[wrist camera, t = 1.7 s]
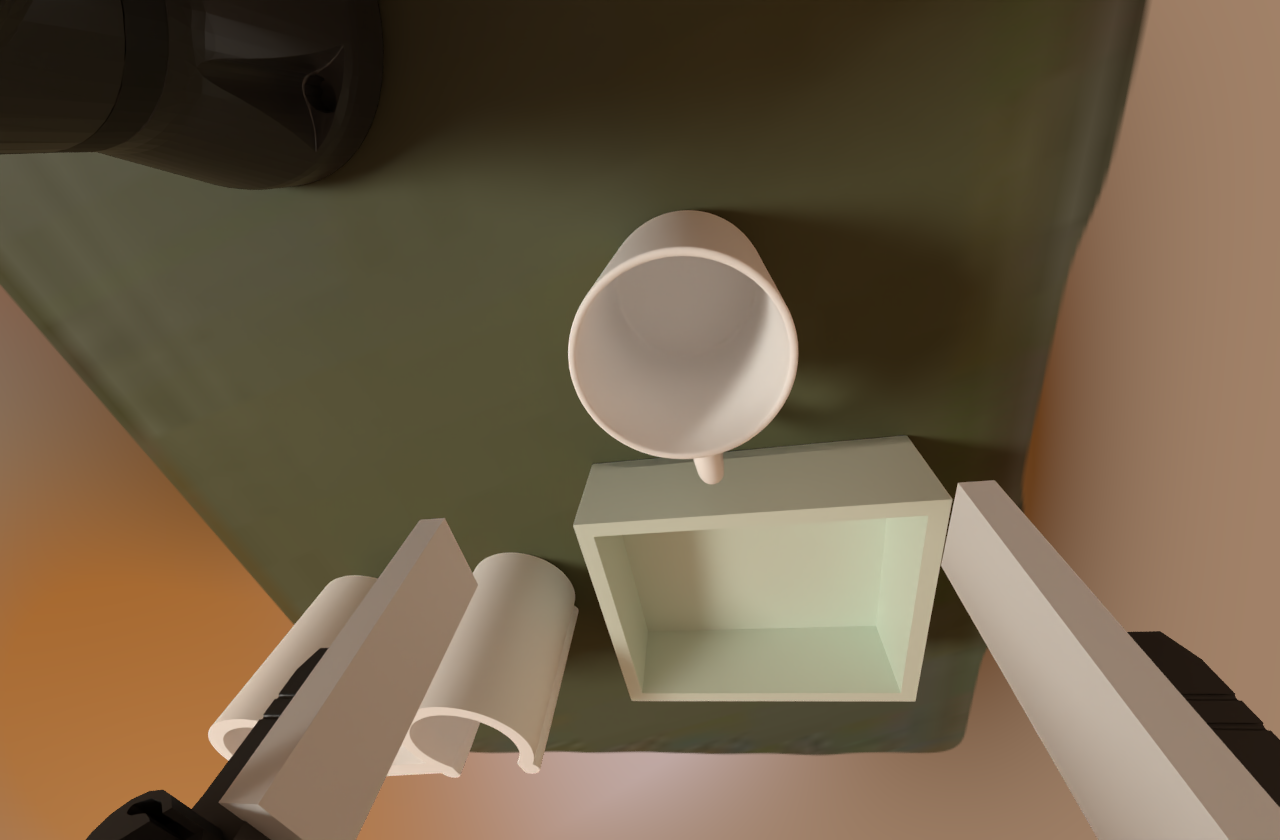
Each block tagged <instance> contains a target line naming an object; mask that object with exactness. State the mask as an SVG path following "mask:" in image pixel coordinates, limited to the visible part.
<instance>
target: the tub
mask: <svg viewBox="0 0 1280 840" xmlns="http://www.w3.org/2000/svg"><path fill="white" fill-rule="evenodd" d="M723 460H724V476H723V478H722V480H721V481H720V482H719V483H716V484H707V483H705V482H704V481H703V480H702V479H701V478H700V476H699V474H698V472H697V469H696V466H695V463H694V460H693V459H670V458H653V459H642V460H631V461H621V462H610V463H599V464H592V467H591V470H590V474H589V477H588V480H587V483H586V486H585V489H584V492H583V496H582V499H581V502H580V505H579V508H578V511H577V515H576V518H575V521H574V524H573V526H574V529H575V532H576V535H577V538H578V541H579V544H580V547H581V550H582V553H583V556H584V559H585V562H586V565H587V568H588V571H589V574H590V577H591V580H592V583H593V586H594V589H595V592H596V595H597V598H598V601H599V604H600V607H601V610H602V613H603V616H604V619H605V622H606V625H607V628H608V631H609V634H610V637H611V640H612V643H613V646H614V649H615V652H616V655H617V658H618V661H619V664H620V667H621V670H622V673H623V676H624V679H625V682H626V685H627V688H628V691H629V694H630V697H631V700H632V701H915V700H916V694H917V689H918V683H919V678H920V673H921V667H922V662H923V656H924V651H925V645H926V640H927V635H928V629H929V624H930V618H931V613H932V607H933V602H934V597H935V591H936V586H937V580H938V575H939V569H940V564H941V559H942V553H943V548H944V542H945V537H946V531H947V526H948V521H949V515H950V510H951V504H952V498H951V496H950V495H949V494H948V492H947V491H946V489H945V488H944V487H943V485H942V484H941V482H940V481H939V480H938V478H937V477H936V475H935V474H934V473H933V471H932V470H931V468H930V467H929V466H928V464H927V463H926V461H925V460H924V459H923V457H922V456H921V454H920V453H919V452H918V450H917V449H916V447H915V446H914V445H913V443H912V442H911V440H910V439H909V438H908V436H907V435H903V436H892V437H882V438H871V439H860V440H849V441H838V442H827V443H816V444H805V445H795V446H784V447H773V448H762V449H751V450H740V451H729V452H723Z"/></svg>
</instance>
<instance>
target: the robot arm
mask: <svg viewBox="0 0 1280 840" xmlns="http://www.w3.org/2000/svg"><path fill="white" fill-rule="evenodd" d="M382 73H383V37H382V27H381V18H380V12H379V6H378V1H377V0H0V154H27V153H58V152H98V153H102V154H105V155H109V156H112V157H116V158H120V159H123V160H127V161H131V162H134V163H138V164H142V165H145V166H149V167H152V168H156V169H160V170H163V171H167V172H171V173H174V174H178V175H182V176H185V177H189V178H192V179H196V180H200V181H203V182H207V183H210V184H214V185H218V186H223V187H229V188H237V189H247V190H263V189H274V188H283V187H292V186H299V185H305V184H308V183H312V182H315V181H318V180H320V179H323V178H324V177H326V176H328V175H330V174H332V173H333V172H335V171H336V170H338V169H339V168H340V167H341V166H343V165H344V164H345V163H346V162H347V161H348V160H349V159H350V158H351V157H352V156H353V154H354V153H355V152H356V151H357V149H358V148H359V146H360V145H361V143H362V142H363V140H364V138H365V136H366V134H367V132H368V130H369V128H370V126H371V123H372V121H373V118H374V115H375V112H376V109H377V105H378V100H379V96H380V90H381V83H382ZM941 567H942V568H943V570H944V572H945V573H946V575H947V577H948V579H949V580H950V582H951V584H952V586H953V587H954V589H955V591H956V593H957V594H958V596H959V598H960V600H961V601H962V603H963V605H964V607H965V608H966V610H967V612H968V614H969V615H970V617H971V619H972V621H973V622H974V624H975V626H976V628H977V629H978V631H979V633H980V635H981V636H982V638H983V640H984V641H985V643H986V645H987V647H988V648H989V650H990V652H991V654H992V655H993V657H994V659H995V661H996V662H997V664H998V666H999V668H1000V669H1001V671H1002V673H1003V675H1004V676H1005V678H1006V680H1007V681H1008V683H1009V685H1010V687H1011V688H1012V690H1013V692H1014V693H1015V696H1016V697H1017V699H1018V701H1019V702H1020V704H1021V706H1022V707H1023V709H1024V711H1025V713H1026V715H1027V716H1028V718H1029V720H1030V721H1031V723H1032V725H1033V727H1034V729H1035V730H1036V732H1037V734H1038V736H1039V737H1040V739H1041V741H1042V743H1043V744H1044V746H1045V748H1046V749H1047V751H1048V753H1049V755H1050V757H1051V758H1052V760H1053V762H1054V763H1055V765H1056V767H1057V769H1058V770H1059V772H1060V774H1061V776H1062V777H1063V779H1064V781H1065V783H1066V784H1067V786H1068V788H1069V790H1070V791H1071V793H1072V795H1073V796H1074V798H1075V800H1076V802H1077V804H1078V805H1079V807H1080V809H1081V811H1082V812H1083V814H1084V816H1085V818H1086V819H1087V821H1088V823H1089V824H1090V826H1091V828H1092V830H1093V831H1094V833H1095V835H1096V837H1097V838H1098V840H1280V740H1279V739H1278V738H1277V737H1276V736H1275V735H1274V734H1273V733H1272V731H1268V730H1266V729H1265V728H1264V726H1263V722H1262V721H1261V720H1260V719H1259V718H1258V717H1257V716H1256V715H1255V714H1254V713H1253V712H1252V711H1251V710H1250V709H1249V708H1248V707H1247V706H1246V705H1245V704H1244V703H1243V702H1242V701H1239V700H1237V699H1236V697H1235V693H1234V692H1233V691H1232V690H1231V689H1230V688H1229V687H1228V686H1227V685H1226V684H1225V683H1224V682H1223V681H1222V680H1221V679H1220V678H1219V677H1218V676H1217V675H1216V674H1215V673H1214V672H1213V671H1212V670H1211V669H1210V668H1209V666H1208V665H1207V664H1206V663H1205V662H1204V661H1203V660H1202V659H1200V658H1199V657H1197V656H1196V655H1194V654H1193V653H1191V652H1190V651H1188V650H1187V649H1185V648H1184V647H1183V646H1181V645H1179V644H1178V643H1177V642H1175V641H1174V640H1172V639H1171V638H1169V637H1168V636H1166V635H1165V634H1163V633H1162V632H1160V631H1157V632H1126V631H1125V629H1124V628H1123V627H1122V626H1121V625H1120V624H1119V622H1118V621H1117V620H1116V619H1115V618H1114V617H1113V616H1112V614H1111V613H1110V612H1109V611H1108V610H1107V609H1106V608H1105V606H1104V605H1103V604H1102V603H1101V602H1100V601H1099V600H1098V598H1097V597H1096V596H1095V595H1094V594H1093V593H1092V592H1091V590H1090V589H1089V588H1088V587H1087V586H1086V585H1085V583H1084V582H1083V581H1082V580H1081V579H1080V578H1079V577H1078V576H1077V574H1076V573H1075V572H1074V571H1073V570H1072V569H1071V567H1070V566H1069V565H1068V564H1067V563H1066V562H1065V560H1064V559H1063V558H1062V557H1061V556H1060V555H1059V554H1058V552H1057V551H1056V550H1055V549H1054V548H1053V547H1052V546H1051V544H1050V543H1049V542H1048V541H1047V540H1046V539H1045V537H1044V536H1043V535H1042V534H1041V533H1040V532H1039V531H1038V529H1036V527H1035V526H1034V525H1033V524H1032V523H1031V521H1030V520H1029V519H1028V518H1027V517H1026V516H1025V515H1024V513H1023V512H1022V511H1021V510H1020V509H1019V508H1018V506H1017V505H1016V504H1015V503H1014V502H1013V501H1012V500H1011V498H1010V497H1009V496H1008V495H1007V494H1006V493H1005V492H1004V490H1003V489H1002V488H1001V487H1000V486H999V485H998V484H997V482H996V481H995V480H990V481H975V482H961V483H958V485H957V490H956V495H955V500H954V505H953V510H952V514H951V519H950V524H949V529H948V534H947V539H946V544H945V549H944V553H943V558H942V563H941ZM477 586H478V584H477V582H476V580H475V578H474V576H473V574H472V572H471V570H470V568H469V566H468V564H467V562H466V560H465V558H464V556H463V554H462V552H461V550H460V548H459V546H458V544H457V542H456V540H455V538H454V536H453V534H452V532H451V530H450V528H449V526H448V524H447V522H446V520H445V518H439V519H425V520H419V522H418V523H417V525H416V526H415V527H414V529H413V530H412V532H411V533H410V534H409V536H408V537H407V539H406V540H405V542H404V543H403V544H402V546H401V547H400V549H399V550H398V551H397V553H396V554H395V556H394V557H393V558H392V560H391V561H390V563H389V564H388V565H387V567H386V568H385V570H384V571H383V572H382V574H381V575H380V577H379V578H378V579H377V581H376V582H375V584H374V585H373V586H372V588H371V589H370V591H369V592H368V593H367V595H366V596H365V598H364V599H363V600H362V602H361V603H360V605H359V606H358V607H357V609H356V610H355V612H354V613H353V614H352V616H351V617H350V619H349V620H348V621H347V623H346V624H345V626H344V627H343V629H342V630H341V631H340V633H339V634H338V636H337V637H336V638H335V640H334V641H333V643H332V644H331V645H330V647H329V648H320V649H318V650H317V651H316V652H315V653H314V654H313V655H312V656H311V657H310V658H309V659H308V660H306V661H305V662H304V663H303V664H302V665H301V666H300V667H299V668H298V669H297V670H296V671H295V672H294V674H293V675H292V676H291V678H290V679H289V680H288V682H287V683H286V684H285V686H284V687H283V689H282V690H281V691H280V693H279V697H278V698H277V699H274V701H273V702H272V703H271V705H270V706H269V707H268V709H267V710H266V711H265V713H264V714H263V715H264V717H263V719H261V720H260V719H259V721H258V722H257V723H256V725H255V726H254V728H253V729H252V730H251V732H250V733H249V734H248V736H247V737H246V738H245V740H244V741H243V742H242V744H241V745H240V746H239V748H238V749H237V750H236V752H235V753H234V754H233V756H232V757H231V758H230V760H229V761H228V763H227V764H226V765H225V766H224V768H223V769H222V771H221V772H220V773H219V775H218V776H217V777H216V779H215V780H214V781H213V783H212V784H211V785H210V787H209V788H208V790H207V791H206V792H205V794H204V795H203V796H202V797H201V798H200V800H199V801H198V802H197V803H196V804H195V806H194V807H193V808H192V809H190V808H189V807H187V806H186V805H184V804H183V803H182V802H180V801H179V800H177V799H176V798H174V797H173V796H171V795H170V794H168V793H167V792H166V791H164V790H157V791H149V792H147V793H145V794H142V795H140V796H138V797H136V798H134V799H132V800H130V801H129V802H127V803H126V804H124V805H123V806H122V807H120V808H119V809H117V810H116V811H115V812H113V813H112V814H111V815H109V817H107V818H106V819H105V820H104V821H103V822H102V823H101V824H100V825H99V826H98V827H97V828H96V829H95V830H94V831H93V832H92V833H91V834H90V835H89V836H88V838H87V839H86V840H356V838H357V836H358V834H359V832H360V830H361V828H362V826H363V824H364V822H365V820H366V818H367V816H368V813H369V811H370V809H371V807H372V805H373V803H374V801H375V799H376V797H377V795H378V793H379V791H380V788H381V786H382V784H383V782H384V780H385V778H386V776H387V774H388V772H389V770H390V768H391V766H392V763H393V761H394V759H395V757H396V755H397V753H398V751H399V749H400V747H401V745H402V743H403V741H404V738H405V736H406V734H407V732H408V730H409V728H410V726H411V724H412V722H413V720H414V718H415V716H416V713H417V711H418V709H419V707H420V705H421V703H422V701H423V699H424V697H425V695H426V693H427V691H428V689H429V686H430V684H431V682H432V680H433V678H434V676H435V674H436V672H437V670H438V668H439V666H440V664H441V661H442V659H443V657H444V655H445V653H446V651H447V649H448V647H449V645H450V643H451V641H452V639H453V636H454V634H455V632H456V630H457V628H458V626H459V624H460V622H461V620H462V618H463V616H464V614H465V611H466V609H467V607H468V605H469V603H470V601H471V599H472V597H473V595H474V593H475V591H476V589H477Z"/></svg>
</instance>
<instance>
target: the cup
mask: <svg viewBox="0 0 1280 840" xmlns="http://www.w3.org/2000/svg"><path fill="white" fill-rule="evenodd" d="M568 360H569V369H570V374H571V378H572V381H573V385H574V388H575V390H576V392H577V395H578V397H579V399H580V400H581V402H582V404H583V406H584V407H585V409H586V410H587V412H588V413H589V414H590V416H591V417H592V418H593V419H594V421H595V422H596V423H597V424H598V425H599V426H600V427H601V428H602V429H604V430H605V431H606V432H607V433H608V434H610V435H611V436H612V437H614V438H615V439H616V440H618V441H620V442H621V443H623V444H625V445H627V446H629V447H631V448H633V449H635V450H638V451H640V452H643V453H646V454H650V455H653V456H658V457H663V458H670V459H693V460H694V463H695V466H696V469H697V472H698V474H699V476H700V478H701V479H702V480H703V481H704V482H705V483H707V484H716V483H719V482H720V481H721V480H722V478H723V476H724V460H723V452H726V451H728V450H731V449H733V448H735V447H737V446H740V445H741V444H743V443H745V442H746V441H748V440H750V439H751V438H752V437H754V436H755V435H757V434H758V433H759V432H760V431H761V430H763V429H764V428H765V427H766V426H767V425H768V424H769V423H770V422H771V421H772V420H773V419H774V417H775V416H776V415H777V414H778V412H779V411H780V409H781V408H782V406H783V405H784V403H785V401H786V399H787V398H788V396H789V394H790V391H791V389H792V386H793V383H794V380H795V376H796V372H797V366H798V339H797V333H796V329H795V325H794V322H793V319H792V316H791V314H790V311H789V309H788V307H787V306H786V304H785V302H784V300H783V298H782V296H781V295H780V293H779V291H778V289H777V287H776V285H775V284H774V282H773V280H772V278H771V276H770V274H769V273H768V271H767V269H766V267H765V265H764V263H763V262H762V260H761V258H760V256H759V254H758V252H757V251H756V249H755V247H754V246H753V244H752V243H751V242H750V240H749V239H748V238H747V237H746V236H745V235H744V234H743V233H742V232H741V231H740V230H739V229H738V228H737V227H736V226H734V225H733V224H732V223H730V222H728V221H727V220H725V219H723V218H721V217H719V216H716V215H713V214H710V213H707V212H702V211H694V210H682V211H674V212H670V213H666V214H663V215H660V216H657V217H655V218H653V219H651V220H649V221H648V222H646V223H644V224H643V225H641V226H640V227H639V228H637V229H636V230H635V231H634V232H633V233H632V234H631V235H630V236H629V237H628V238H627V239H626V240H625V241H624V243H623V244H622V245H621V247H620V248H619V249H618V251H617V252H616V254H615V255H614V257H613V258H612V259H611V261H610V262H609V264H608V265H607V267H606V268H605V269H604V271H603V272H602V274H601V275H600V277H599V278H598V279H597V281H596V282H595V284H594V285H593V287H592V288H591V289H590V291H589V292H588V294H587V295H586V297H585V298H584V300H583V302H582V303H581V305H580V307H579V309H578V311H577V313H576V315H575V318H574V321H573V324H572V327H571V332H570V336H569V345H568Z"/></svg>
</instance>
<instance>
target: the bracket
mask: <svg viewBox="0 0 1280 840" xmlns="http://www.w3.org/2000/svg"><path fill="white" fill-rule="evenodd" d="M473 576H474V578H475V580H476V582H477V584H478V586H477V589H476V591H475V593H474V595H473V597H472V599H471V601H470V603H469V605H468V607H467V609H466V611H465V614H464V616H463V618H462V620H461V622H460V624H459V626H458V628H457V630H456V632H455V634H454V636H453V639H452V641H451V643H450V645H449V647H448V649H447V651H446V653H445V655H444V657H443V659H442V661H441V664H440V666H439V668H438V670H437V672H436V674H435V676H434V678H433V680H432V682H431V684H430V686H429V689H428V691H427V693H426V695H425V697H424V699H423V701H422V703H421V705H420V707H419V709H418V711H417V713H416V716H415V718H414V720H413V722H412V724H411V726H410V728H409V730H408V732H407V734H406V736H405V738H404V741H403V743H402V745H401V747H400V749H399V751H398V753H397V755H396V757H395V759H394V761H393V763H392V766H391V768H390V770H389V772H388V774H387V776H394V775H413V774H432V773H442V774H444V775H446V776H449V777H460V776H461V773H462V770H463V767H464V765H465V762H466V759H467V756H468V754H469V751H470V748H471V746H472V743H473V740H474V738H475V735H476V732H477V729H478V727H479V724H480V722H482V723H484V724H487V725H489V726H491V727H493V728H495V729H497V730H499V731H501V732H502V733H504V734H505V735H506V736H508V737H509V738H510V739H511V740H512V741H513V742H514V743H515V744H516V746H517V747H518V749H519V752H520V755H519V759H518V763H517V764H518V765H519V766H520V767H521V769H522V770H523V771H524V772H526V773H531V774H535V773H538V772H539V771H540V767H541V763H542V759H543V755H544V751H545V747H546V743H547V739H548V734H549V730H550V726H551V722H552V718H553V714H554V710H555V706H556V702H557V698H558V694H559V690H560V686H561V681H562V677H563V673H564V669H565V665H566V661H567V657H568V653H569V649H570V645H571V641H572V637H573V632H574V628H575V624H576V620H577V616H578V612H579V610H578V608H577V607H576V606H574V603H575V591H574V588H573V586H572V584H571V582H570V580H569V579H568V578H567V576H566V575H565V574H564V573H563V572H562V571H561V570H560V569H558V568H557V567H556V566H554V565H552V564H551V563H549V562H547V561H545V560H543V559H541V558H538V557H535V556H532V555H528V554H523V553H500V554H495V555H492V556H490V557H488V558H486V559H484V560H483V561H481V562H480V563H479V564H478V565H477V567H476V568H475V570H474V572H473ZM376 581H377V578H373V577H368V576H359V575H352V576H344V577H340V578H337V579H335V580H333V581H331V582H330V583H329V584H328V585H327V586H326V587H325V588H324V590H323V591H322V592H321V593H320V594H319V596H318V597H317V598H316V599H315V601H314V602H313V603H312V604H311V605H310V607H309V608H308V609H307V610H306V612H305V613H304V614H303V615H302V616H301V618H300V619H299V620H298V621H297V622H296V624H295V625H294V626H293V628H292V629H291V630H290V631H289V632H288V633H287V635H286V636H285V637H284V638H283V640H282V641H281V642H280V643H279V644H278V646H277V647H276V648H275V649H274V651H273V652H272V653H271V654H270V655H269V657H268V658H267V659H266V660H265V662H264V663H263V664H262V665H261V666H260V668H259V669H258V670H257V671H256V673H255V674H254V675H253V676H252V677H251V679H250V680H249V681H248V682H247V684H246V685H245V686H244V687H243V688H242V690H241V691H240V692H239V693H238V695H237V696H236V697H235V698H234V699H233V701H232V702H231V703H230V704H229V706H228V707H227V708H226V709H225V710H224V712H223V713H222V714H221V715H220V717H219V718H218V719H217V720H216V721H215V723H214V724H213V725H212V726H211V728H210V729H209V731H208V737H209V740H210V742H211V744H212V746H213V747H214V748H215V749H216V750H217V751H218V752H219V753H220V754H221V755H222V756H223V757H225V758H226V759H227V760H228V761H229V760H230V758H231V757H232V756H233V754H234V753H235V752H236V750H237V749H238V748H239V746H240V745H241V744H242V742H243V741H244V740H245V738H246V737H247V736H248V734H249V733H250V732H251V730H252V729H253V728H254V726H255V725H256V723H257V722H258V721H259V719H260V720H261V719H263V717H264V715H263V714H264V713H265V711H266V710H267V709H268V707H269V706H270V705H271V703H272V702H273V701H274V699H277V698H278V697H279V693H280V691H281V690H282V689H283V687H284V686H285V684H286V683H287V682H288V680H289V679H290V678H291V676H292V675H293V674H294V672H295V671H296V670H297V669H298V668H299V667H300V666H301V665H302V664H303V663H304V662H305V661H306V660H308V659H309V658H310V657H311V656H312V655H313V654H314V653H315V652H316V651H317V650H318V649H320V648H329V647H330V645H331V644H332V643H333V641H334V640H335V638H336V637H337V636H338V634H339V633H340V631H341V630H342V629H343V627H344V626H345V624H346V623H347V621H348V620H349V619H350V617H351V616H352V614H353V613H354V612H355V610H356V609H357V607H358V606H359V605H360V603H361V602H362V600H363V599H364V598H365V596H366V595H367V593H368V592H369V591H370V589H371V588H372V586H373V585H374V584H375V582H376Z"/></svg>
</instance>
